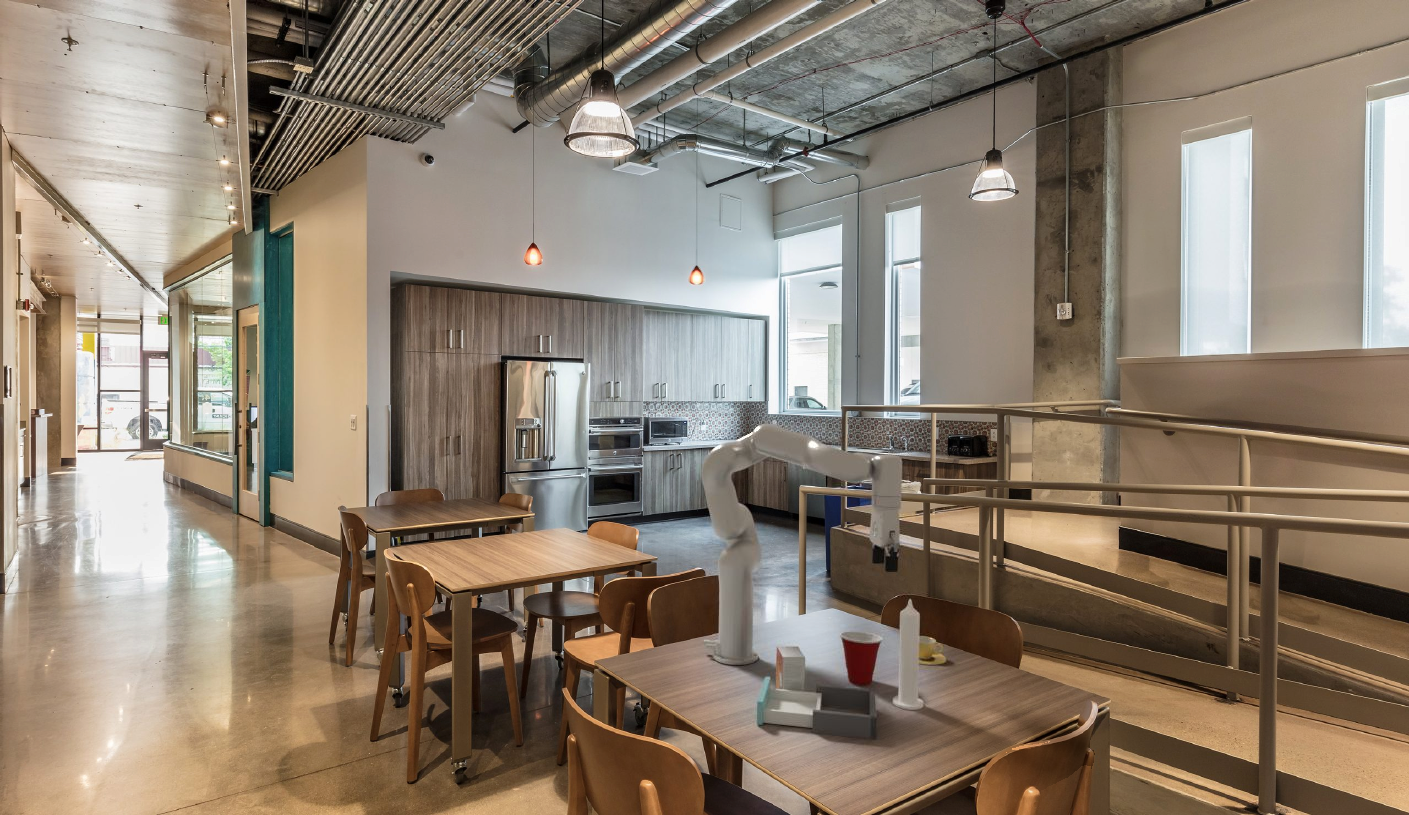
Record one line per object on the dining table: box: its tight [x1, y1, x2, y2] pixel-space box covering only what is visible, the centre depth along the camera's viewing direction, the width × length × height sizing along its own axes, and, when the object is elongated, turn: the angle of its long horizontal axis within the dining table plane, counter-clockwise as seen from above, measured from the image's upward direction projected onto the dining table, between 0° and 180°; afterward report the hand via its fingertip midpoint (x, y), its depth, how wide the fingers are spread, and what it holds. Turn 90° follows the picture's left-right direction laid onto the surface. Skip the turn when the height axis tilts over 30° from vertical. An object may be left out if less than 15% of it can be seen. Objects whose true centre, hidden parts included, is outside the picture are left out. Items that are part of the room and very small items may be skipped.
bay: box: [811, 684, 878, 740], centre depth 163 cm, size 13×16×4 cm
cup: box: [919, 635, 947, 666], centre depth 205 cm, size 12×12×5 cm
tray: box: [756, 676, 822, 729], centre depth 165 cm, size 13×15×5 cm
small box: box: [775, 645, 806, 692], centre depth 177 cm, size 8×6×10 cm
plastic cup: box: [839, 630, 884, 687], centre depth 186 cm, size 11×11×12 cm
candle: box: [892, 598, 924, 711], centre depth 172 cm, size 7×7×25 cm
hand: (884, 567), depth 190 cm, fingers open, 9 cm apart
